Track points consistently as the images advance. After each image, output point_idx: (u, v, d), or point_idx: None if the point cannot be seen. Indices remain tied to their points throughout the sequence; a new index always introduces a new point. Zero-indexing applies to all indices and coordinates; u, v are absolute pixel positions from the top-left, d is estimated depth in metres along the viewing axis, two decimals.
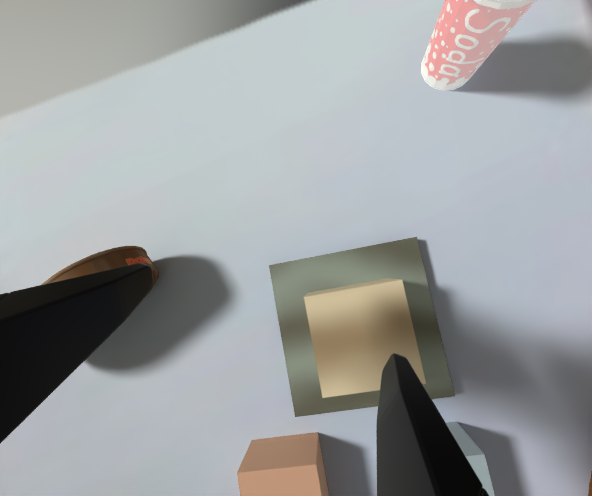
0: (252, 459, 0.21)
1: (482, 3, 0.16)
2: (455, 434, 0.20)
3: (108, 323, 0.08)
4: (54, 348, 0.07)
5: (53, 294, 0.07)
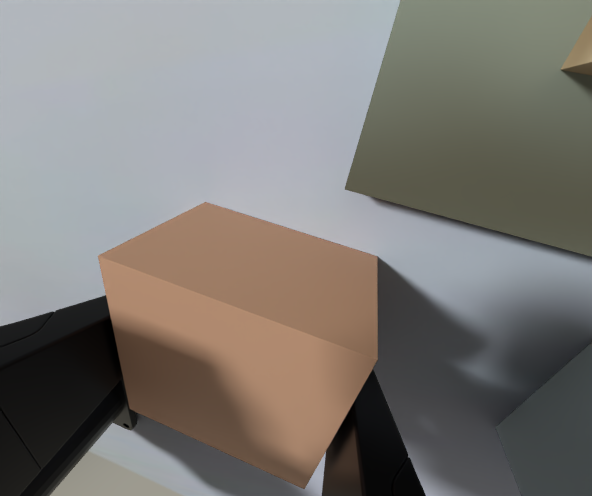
0: (172, 242, 0.06)
1: None
2: None
3: None
4: (97, 367, 0.07)
5: (98, 312, 0.07)
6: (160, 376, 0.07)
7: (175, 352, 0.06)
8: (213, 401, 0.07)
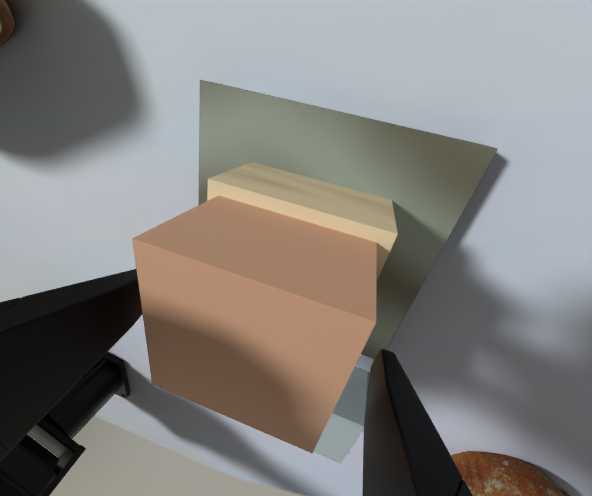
0: (193, 228, 0.07)
1: None
2: (354, 386, 0.17)
3: (118, 327, 0.08)
4: (65, 353, 0.07)
5: (65, 299, 0.07)
6: (183, 349, 0.08)
7: (197, 326, 0.07)
8: (231, 370, 0.08)
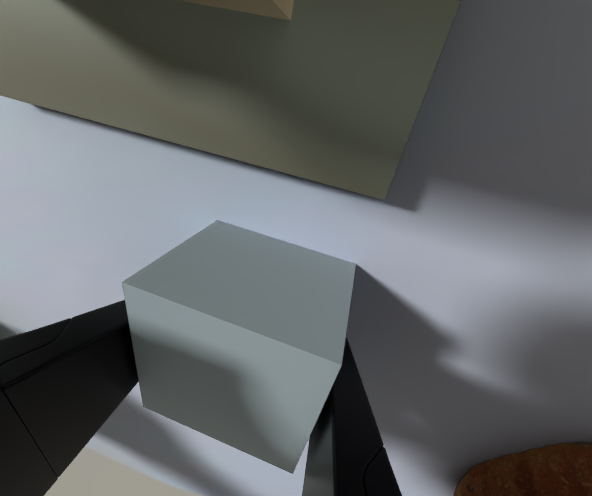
0: None
1: None
2: (322, 284, 0.07)
3: None
4: (113, 374, 0.07)
5: (114, 318, 0.07)
6: None
7: None
8: None
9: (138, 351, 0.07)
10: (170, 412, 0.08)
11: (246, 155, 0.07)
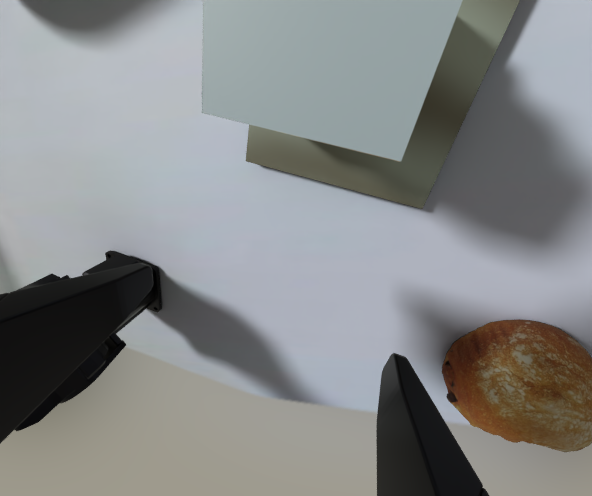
0: None
1: None
2: None
3: (108, 323, 0.08)
4: (54, 348, 0.07)
5: (53, 294, 0.07)
6: None
7: None
8: None
9: None
10: (239, 104, 0.06)
11: (369, 192, 0.18)
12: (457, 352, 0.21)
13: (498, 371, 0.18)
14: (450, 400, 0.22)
